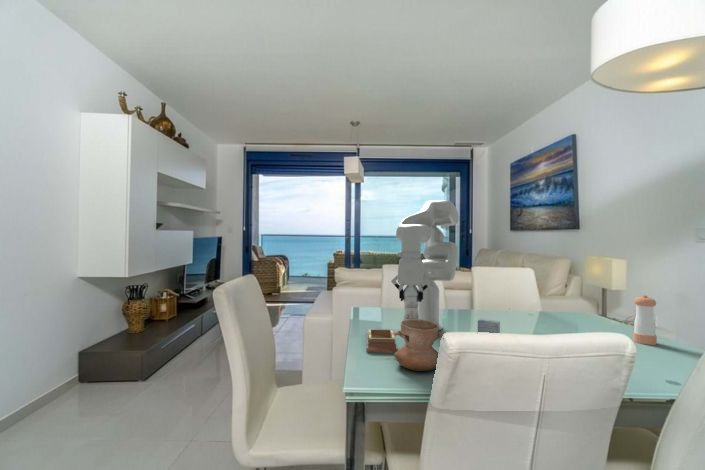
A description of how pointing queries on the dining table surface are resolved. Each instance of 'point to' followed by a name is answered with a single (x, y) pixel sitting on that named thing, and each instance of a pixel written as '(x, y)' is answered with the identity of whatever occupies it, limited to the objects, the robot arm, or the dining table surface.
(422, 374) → the dining table surface
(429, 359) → the ceramic jug
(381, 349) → the wooden tray
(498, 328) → the medicine box
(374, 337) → the box
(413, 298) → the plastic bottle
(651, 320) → the pepper shaker
